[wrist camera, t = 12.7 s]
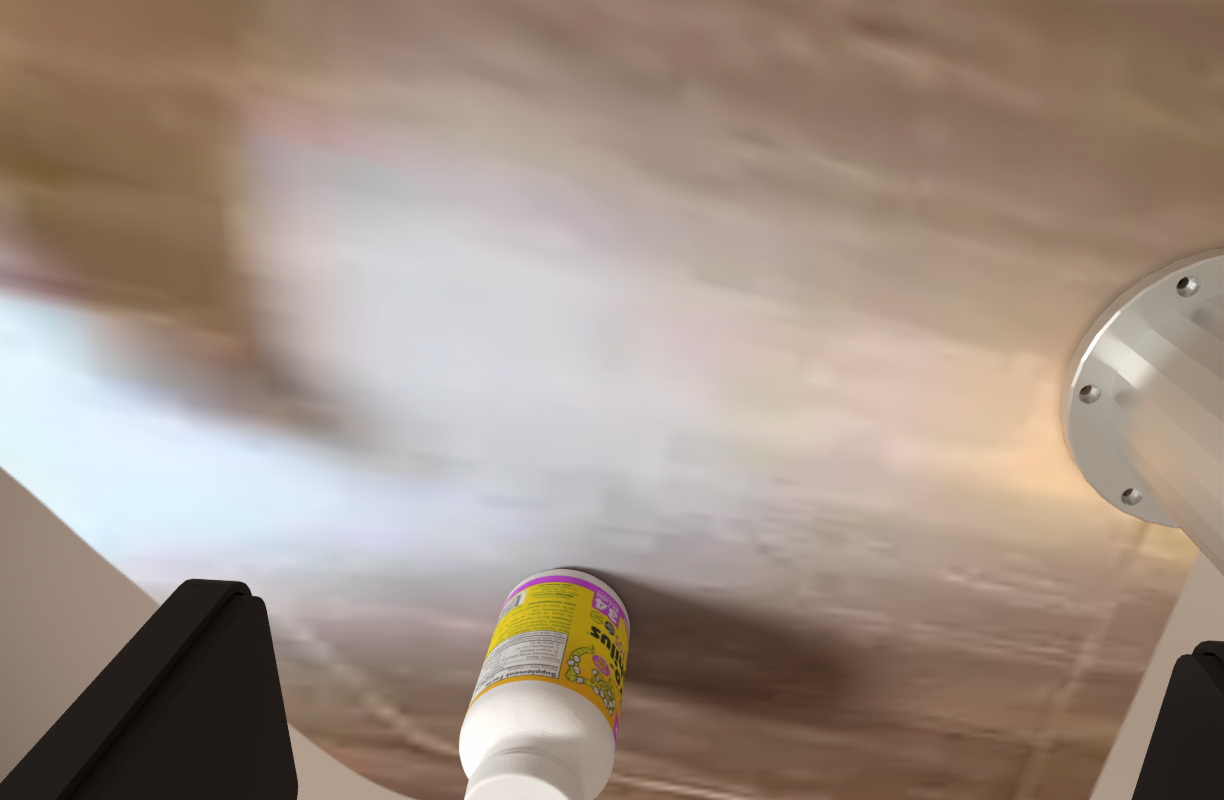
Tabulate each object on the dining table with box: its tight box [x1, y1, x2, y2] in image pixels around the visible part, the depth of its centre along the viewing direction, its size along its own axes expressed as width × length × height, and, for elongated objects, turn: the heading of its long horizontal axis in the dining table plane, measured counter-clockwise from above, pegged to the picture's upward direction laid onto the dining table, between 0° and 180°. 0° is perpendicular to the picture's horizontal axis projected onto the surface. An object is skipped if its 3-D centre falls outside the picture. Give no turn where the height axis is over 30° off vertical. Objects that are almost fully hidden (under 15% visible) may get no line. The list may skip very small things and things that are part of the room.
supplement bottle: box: [459, 569, 630, 800], centre depth 41 cm, size 7×7×13 cm
